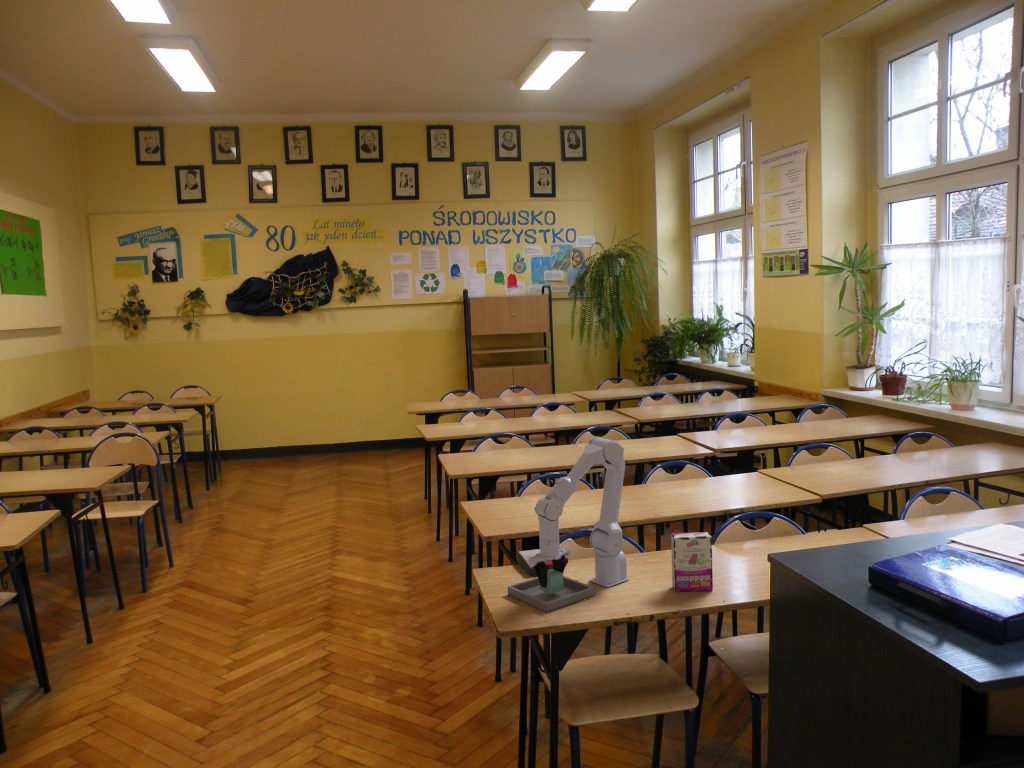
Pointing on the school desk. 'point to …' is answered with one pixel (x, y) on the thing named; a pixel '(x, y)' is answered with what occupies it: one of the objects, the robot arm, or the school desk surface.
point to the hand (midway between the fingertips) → (550, 584)
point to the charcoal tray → (550, 602)
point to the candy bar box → (691, 562)
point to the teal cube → (553, 582)
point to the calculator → (523, 561)
